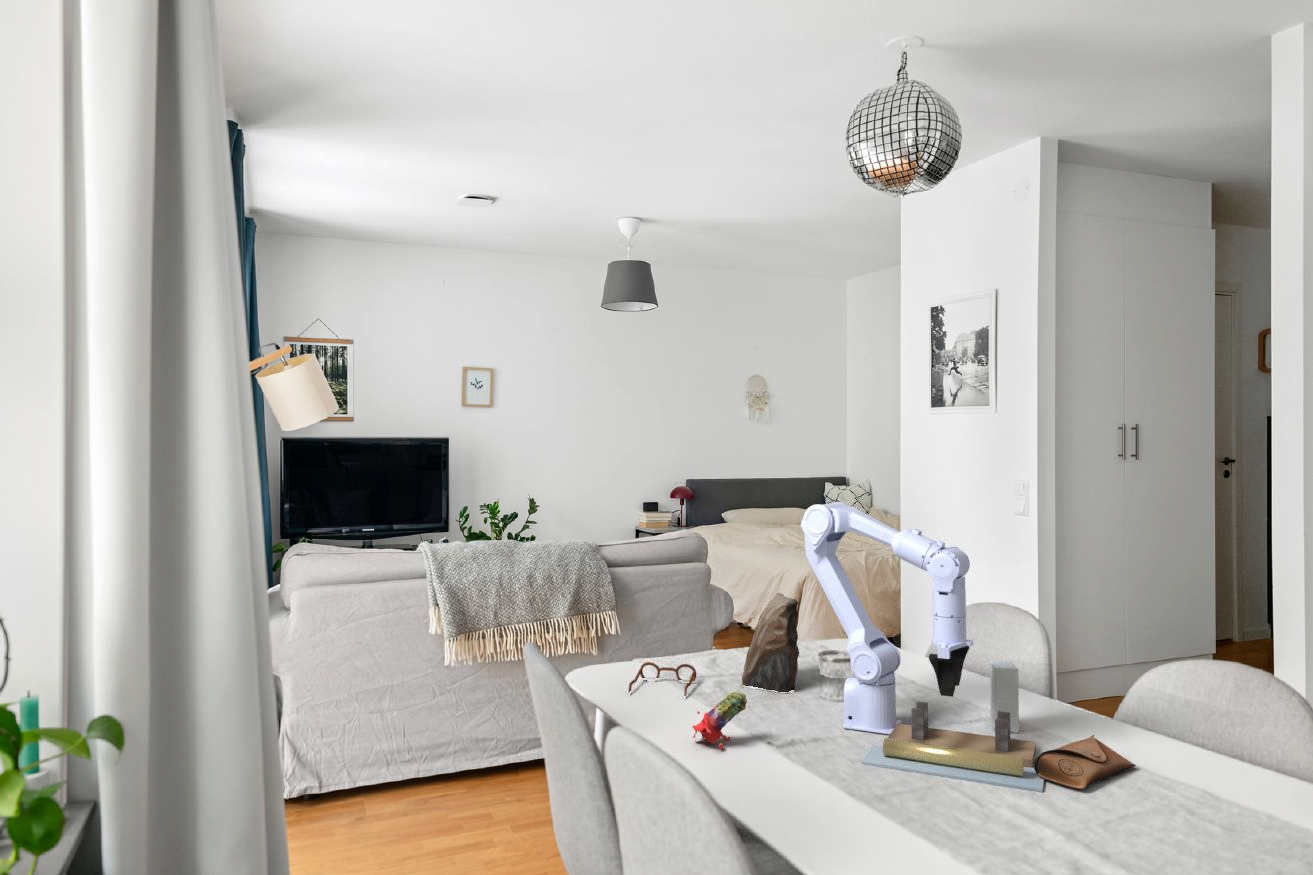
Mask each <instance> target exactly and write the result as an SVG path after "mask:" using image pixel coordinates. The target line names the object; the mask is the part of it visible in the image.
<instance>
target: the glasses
mask: <svg viewBox="0 0 1313 875" xmlns="http://www.w3.org/2000/svg"><path fill="white" fill-rule="evenodd" d="M646 666H651V667H652V666H653V667H654V668H655V669H656V671H657V672H656V673H657V675H656V677H655V678H660V674H661V672H662V671H665V672H666V671H668V672H669V671H670V672H675V676H676V679H677V681H678V680H683V679H682V678H681V677H680V674H679V670H680V669H681V668H688V669H690V670H691V671H692V673H691V675H690V678H689V680H688V681H689V683H687V684H686V683H685V686H684V689H683V690H684V695H683V697H684V696H686V695H687V694H688V687H690V686H691V684H692V683H691V682H692V681H694V682H695V681H696V678H697V671H696V668H694V666H693V665H691V664H689V663H681V664H679V665H678V666H677V667H676V668H674V667H666V666H665V667H661V668H660V666H659V665H657V664H656V663H655V662H649V661H647V662H644V663H643V664H641V666H640V668H639V670H638V672H637V674H636V676H635V678H634V679H633V680H631V681H630V682H629V683H628V692H630V691H631V692H632V686H633V685H634V684H635V683H637V681H638V679H639V677H641V679H642V678H645V677H646V676H645V675H644V673H643V670H644V668H645V667H646ZM628 692H627V693H628ZM687 696H688V695H687Z"/></svg>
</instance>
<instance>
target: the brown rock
mask: <svg viewBox="0 0 1313 875" xmlns="http://www.w3.org/2000/svg"><path fill="white" fill-rule="evenodd" d="M798 605H799V601H798V600H797V599H796V598H790V597H787V596H784V594H783V593H780V592H776V594H775V596H774V597H773V598H772V599H771V600H770V601H769V602H768V603H767V605H766V607H765V608H764V610H762V612H761V614H759V618H758V620H757V624H756V627H755V630H754V632H753V636H752V638H751V642H750V645H749V648H748V650H747V652H746V656H745V663H744V667H743V672H742V674H741V675H742V676H741V682H742V684H741V686H742V685H745V686H753V687H758V688H763V689H766V690H775V691H778V692H789V691H791V690H795V687H796V681H797V680H796V678H797V675H798V672H799V670H798V669H799V663H798V660H799V659H798V658H799V656H800V650H799V646H798V640H799V634H798V633H799V632H798V630H797V620H798V618H799V614H798V613H799V612H798V609H797V608H798ZM795 691H796V690H795Z"/></svg>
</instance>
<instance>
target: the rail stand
mask: <svg viewBox="0 0 1313 875" xmlns="http://www.w3.org/2000/svg"><path fill="white" fill-rule="evenodd" d="M910 713H911V725H910V724H906V723H905V724H904V723H901V724H897V725H896V726H895V728H894V729H893V731H892V732H891V734H888V737H887V738H891V739H898V740H905V741H912V742H919V743H926V744H933V745H940V746H947V747H954V748H961V749H968V750H975V751H982V752H989V753H996V754H1003V755H1010V756H1017V757H1023V758H1024V767H1028V768H1034V762H1035V756H1036V752H1037V751H1036V750H1037V742H1036V741H1033V740H1032V741H1031V740H1023V739H1015V738H1011V732H1010V712H1002V711H998V712H997V715H998V719H997V718H995V729H994V735H987V734H979V733H972V732H965V731H964V732H963V731H956V730H949V729H942V728H941V729H940V728H934V727H929V702H928V701H927V702H926V701H915V707H912V708H911V711H910Z"/></svg>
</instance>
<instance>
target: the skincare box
mask: <svg viewBox="0 0 1313 875" xmlns="http://www.w3.org/2000/svg"><path fill="white" fill-rule="evenodd" d="M989 665H990V666H989V668H990V669H989V670H990V671H989V674H990V675H989V678H990V679H989V683H990V684H989V688H990V689H989V694H990V698H989V699H990V701H989V702H990V703H989V704H990V705H989V706H990V709H989V710H990V711H989V714H990V716H989V717H990V720H989V721H990V723H991V725H992V727H993V729H994V730H995V718H997V719H998V715H997V712H998V711H1002V712H1010V733H1016V734H1018V733H1020V732H1019V731H1020V725H1019V724H1020V723H1019V722H1020V720H1019V719H1020V718H1019V714H1020V712H1019V709H1020V707H1019V705H1020V704H1019V703H1020V700H1019V693H1020V692H1019V669H1018V667H1017V666H1016V665H1015V664H1014V663H1013V661H1002V660H1001V661H1000V660H999V661H998V660H990V662H989Z"/></svg>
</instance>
